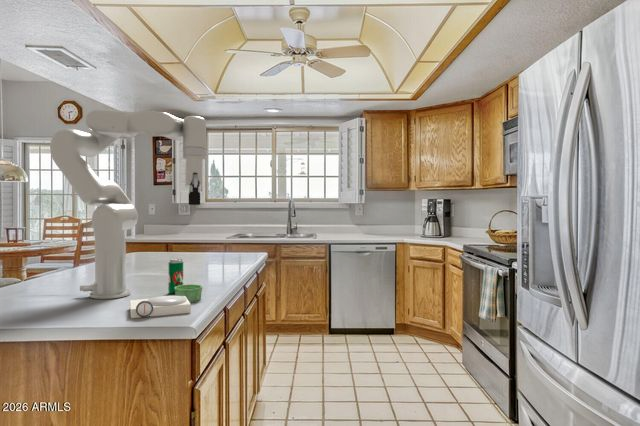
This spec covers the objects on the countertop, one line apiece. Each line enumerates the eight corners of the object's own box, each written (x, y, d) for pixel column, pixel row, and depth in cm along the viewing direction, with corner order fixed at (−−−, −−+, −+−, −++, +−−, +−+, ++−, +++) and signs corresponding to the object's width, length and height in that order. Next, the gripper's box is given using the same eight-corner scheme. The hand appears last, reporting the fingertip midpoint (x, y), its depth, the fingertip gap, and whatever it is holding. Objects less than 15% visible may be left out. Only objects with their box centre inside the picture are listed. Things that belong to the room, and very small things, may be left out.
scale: (130, 318, 115) (130, 302, 115) (130, 308, 126) (130, 293, 126) (191, 313, 121) (191, 297, 121) (185, 303, 133) (185, 289, 133)
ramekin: (194, 303, 134) (194, 290, 134) (168, 302, 135) (168, 288, 135) (207, 297, 142) (207, 284, 142) (183, 296, 144) (183, 283, 144)
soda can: (170, 291, 151) (170, 258, 151) (184, 291, 152) (184, 258, 151) (166, 294, 146) (166, 260, 146) (181, 294, 147) (181, 260, 146)
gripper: (182, 156, 147) (181, 204, 147) (183, 150, 131) (183, 204, 131) (203, 157, 150) (203, 204, 150) (208, 151, 133) (207, 204, 134)
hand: (194, 204), depth 141 cm, fingers open, 9 cm apart
